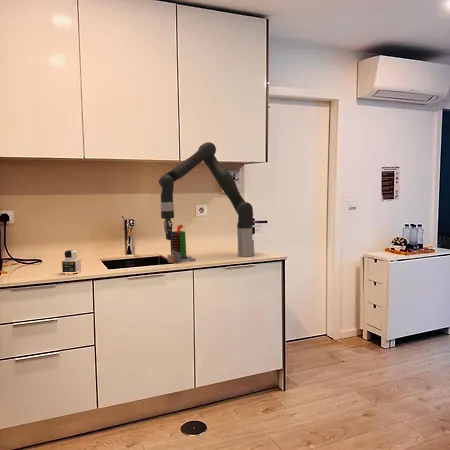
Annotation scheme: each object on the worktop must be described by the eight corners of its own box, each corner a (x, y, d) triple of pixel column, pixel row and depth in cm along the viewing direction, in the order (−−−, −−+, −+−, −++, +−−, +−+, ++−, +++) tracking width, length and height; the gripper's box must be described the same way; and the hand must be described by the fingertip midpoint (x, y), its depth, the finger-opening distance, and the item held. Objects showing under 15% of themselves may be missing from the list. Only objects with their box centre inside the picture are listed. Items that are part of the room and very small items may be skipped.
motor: (168, 257, 261) (166, 225, 259) (176, 255, 269) (175, 224, 267) (181, 258, 256) (180, 225, 254) (189, 255, 264) (188, 224, 262)
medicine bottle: (62, 274, 215) (61, 251, 214) (68, 271, 222) (66, 249, 221) (76, 274, 215) (74, 251, 214) (81, 271, 222) (80, 249, 221)
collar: (191, 258, 254) (190, 248, 253) (196, 261, 242) (195, 251, 242) (172, 260, 250) (172, 250, 249) (176, 263, 239) (176, 252, 238)
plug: (185, 260, 248) (185, 253, 248) (187, 261, 245) (187, 254, 244) (167, 261, 245) (167, 255, 244) (169, 262, 241) (169, 255, 241)
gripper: (158, 210, 246) (160, 238, 248) (163, 210, 233) (164, 241, 234) (171, 209, 249) (172, 238, 250) (176, 210, 235) (177, 240, 237)
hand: (168, 239), depth 242 cm, fingers open, 3 cm apart
